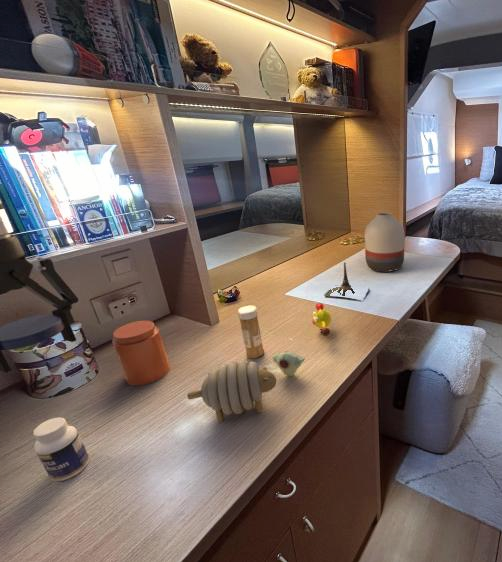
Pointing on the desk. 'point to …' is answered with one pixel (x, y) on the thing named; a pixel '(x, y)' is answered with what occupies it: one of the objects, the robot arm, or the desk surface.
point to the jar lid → (29, 331)
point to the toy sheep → (235, 388)
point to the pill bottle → (60, 449)
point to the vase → (384, 243)
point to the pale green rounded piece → (288, 362)
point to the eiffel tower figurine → (344, 286)
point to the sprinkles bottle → (251, 331)
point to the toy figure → (322, 319)
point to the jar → (141, 352)
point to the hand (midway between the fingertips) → (39, 353)
